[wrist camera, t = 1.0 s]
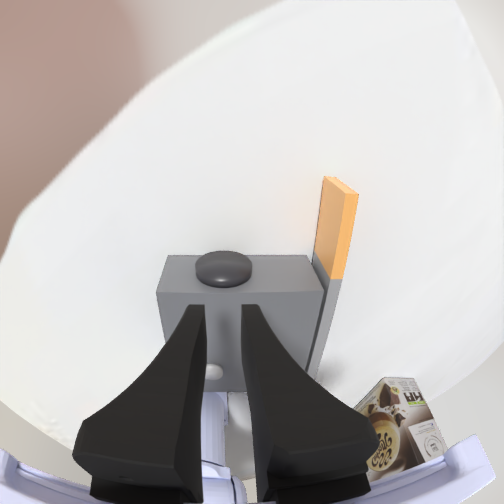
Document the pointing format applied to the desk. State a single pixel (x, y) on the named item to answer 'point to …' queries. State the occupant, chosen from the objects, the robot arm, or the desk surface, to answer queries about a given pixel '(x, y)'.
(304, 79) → the desk surface
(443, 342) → the desk surface
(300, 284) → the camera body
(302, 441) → the robot arm
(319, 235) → the side door
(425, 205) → the desk surface
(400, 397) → the coffee box
